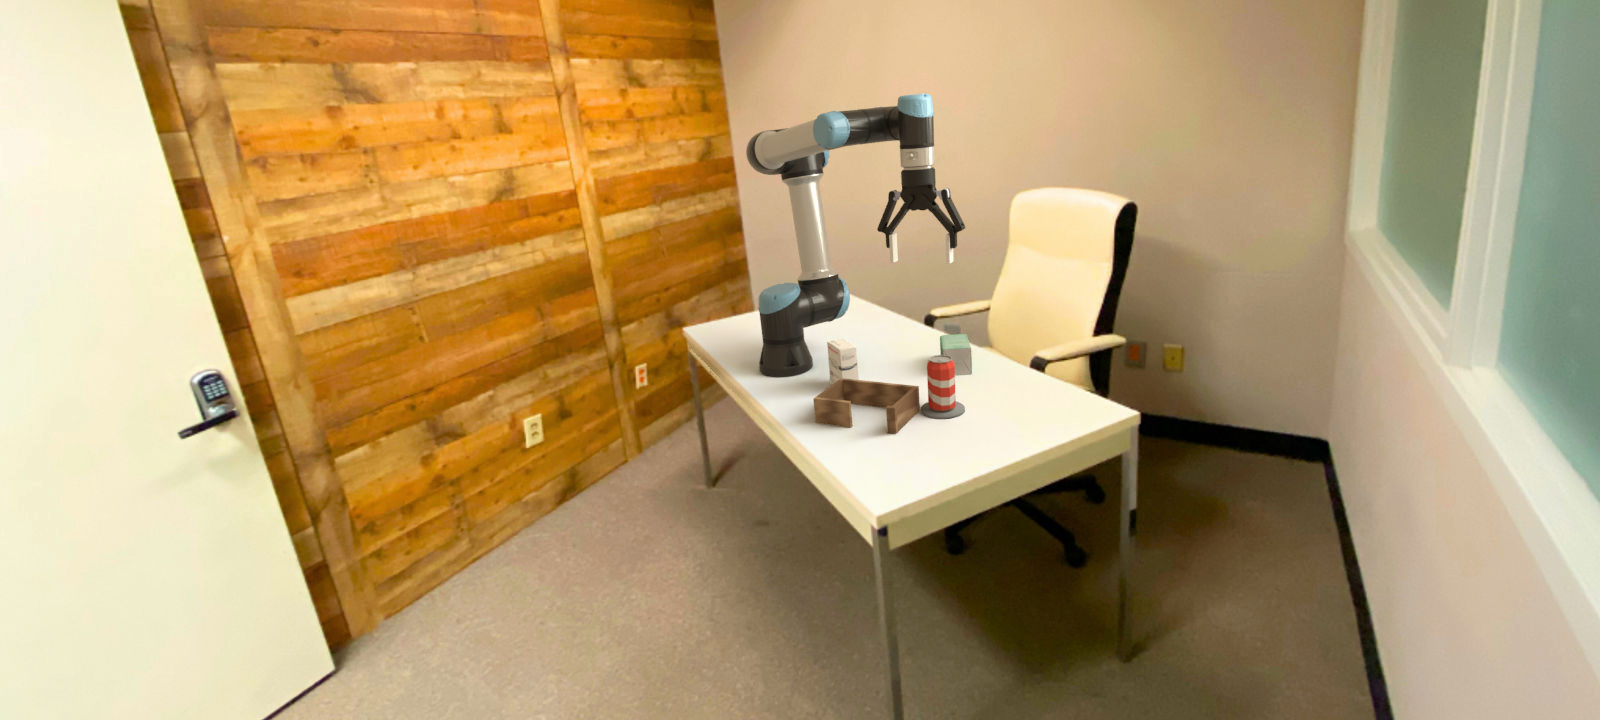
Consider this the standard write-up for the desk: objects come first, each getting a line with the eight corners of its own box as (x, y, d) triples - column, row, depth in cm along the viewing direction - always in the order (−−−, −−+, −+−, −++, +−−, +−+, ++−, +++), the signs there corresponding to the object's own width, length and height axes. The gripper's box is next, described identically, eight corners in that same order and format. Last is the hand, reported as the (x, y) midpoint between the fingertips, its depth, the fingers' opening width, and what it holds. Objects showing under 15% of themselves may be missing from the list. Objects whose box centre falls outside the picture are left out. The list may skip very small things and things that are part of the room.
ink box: (860, 390, 189) (857, 345, 185) (842, 394, 187) (838, 349, 184) (846, 380, 196) (843, 337, 193) (829, 384, 195) (825, 341, 191)
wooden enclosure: (815, 422, 171) (813, 398, 169) (842, 401, 183) (841, 378, 181) (896, 434, 161) (894, 408, 159) (919, 410, 173) (918, 386, 171)
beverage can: (938, 415, 167) (937, 365, 164) (923, 406, 173) (921, 357, 169) (961, 409, 169) (960, 359, 166) (945, 400, 175) (943, 352, 171)
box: (967, 358, 205) (966, 332, 202) (972, 375, 192) (971, 347, 190) (940, 359, 206) (939, 334, 204) (943, 376, 193) (942, 349, 191)
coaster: (914, 415, 170) (914, 413, 170) (929, 400, 178) (929, 398, 178) (956, 421, 165) (956, 418, 165) (970, 404, 173) (970, 402, 173)
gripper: (859, 172, 168) (865, 264, 175) (967, 166, 156) (969, 266, 162) (873, 168, 174) (878, 258, 181) (978, 163, 162) (979, 259, 168)
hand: (921, 262), depth 172 cm, fingers open, 13 cm apart
